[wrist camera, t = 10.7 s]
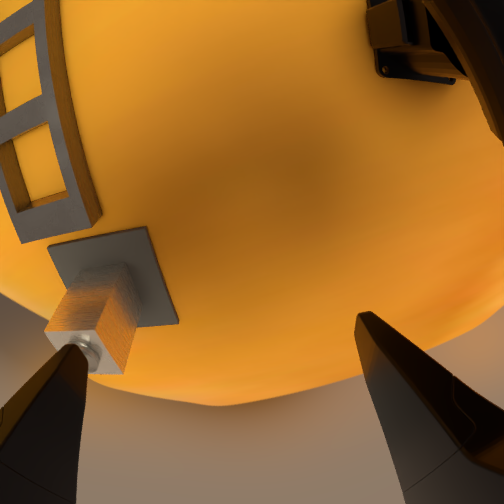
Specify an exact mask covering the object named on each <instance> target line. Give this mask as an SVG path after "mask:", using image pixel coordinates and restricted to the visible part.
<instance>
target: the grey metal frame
mask: <svg viewBox="0 0 504 504" xmlns="http://www.w3.org/2000/svg"><path fill="white" fill-rule="evenodd" d="M34 34H35V45H36V54H37V62H38V70H39V76H40V83H41V89H42V95H40V96H38V97H36V98H34V99H32V100H30V101H28V102H26V103H24V104H23V105H21V106H19V107H17V108H15V109H14V110H12V111H10V112H8V113H7V114H6V110H5V105H4V99H3V93H2V87H1V80H0V190H1V193H2V196H3V199H4V202H5V204H6V207H7V210H8V212H9V215H10V218H11V220H12V223H13V225H14V227H15V230H16V232H17V235H18V237H19V239H20V241H21V244H24V243H28V242H32V241H36V240H40V239H44V238H48V237H52V236H56V235H61V234H65V233H69V232H74V231H78V230H83V229H88V228H92V227H93V226H94V224H95V223H96V222H97V221H98V219H99V218H100V217H101V216H102V215H103V214H102V212H101V209H100V206H99V202H98V199H97V196H96V193H95V190H94V187H93V183H92V180H91V177H90V173H89V170H88V166H87V163H86V159H85V155H84V152H83V148H82V144H81V140H80V136H79V132H78V127H77V123H76V119H75V114H74V109H73V104H72V99H71V94H70V89H69V83H68V77H67V71H66V65H65V58H64V50H63V42H62V32H61V21H60V7H59V0H33V1H32V2H31V3H29V4H27V5H26V6H24V7H23V8H21V9H20V10H18V11H17V12H15V13H14V14H12V15H11V16H9V17H8V18H6V19H5V20H4V21H2V22H1V23H0V56H1V55H2V54H4V53H5V52H7V51H8V50H10V49H11V48H13V47H14V46H16V45H17V44H19V43H21V42H22V41H24V40H25V39H27V38H29V37H30V36H32V35H34ZM45 123H48V124H49V128H50V132H51V136H52V140H53V144H54V148H55V152H56V155H57V159H58V163H59V166H60V169H61V173H62V176H63V179H64V182H65V186H66V189H67V191H64V192H61V193H57V194H54V195H51V196H48V197H45V198H42V199H39V200H36V201H33V202H31V201H30V198H29V195H28V193H27V190H26V187H25V184H24V180H23V177H22V174H21V171H20V168H19V164H18V161H17V157H16V153H15V150H14V146H13V142H12V139H14V138H16V137H18V136H20V135H22V134H24V133H26V132H28V131H30V130H32V129H35V128H37V127H39V126H41V125H43V124H45Z"/></svg>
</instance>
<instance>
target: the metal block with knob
mask: <svg viewBox="0 0 504 504" xmlns="http://www.w3.org/2000/svg"><path fill="white" fill-rule="evenodd" d="M142 308H143V303H142V301H141V298H140V296H139V294H138V291H137V289H136V287H135V284H134V282H133V280H132V277H131V275H130V272H129V270H128V267H127V265H126V262H123V263H117V264H110V265H104V266H97V267H91V268H84V269H80V271H79V272H78V274H77V276H76V277H75V279H74V280H73V282H72V284H71V285H70V287H69V288H68V290H67V292H66V293H65V295H64V297H63V298H62V300H61V302H60V304H59V305H58V307H57V309H56V311H55V312H54V314H53V316H52V318H51V319H50V321H49V323H48V325H47V327H46V329H45V330H44V333H45V334H46V336H47V337H48V338H49V340H50V341H51V343H52V344H53V346H54V347H55V348H56V350H57V351H59V350H60V349H61V348H62V347H63V346H64V345H65V344H76V345H78V346H79V348H80V349H81V351H82V352H83V354H84V355H85V356H86V358H87V360H88V364H89V367H88V374H124V370H125V367H126V363H127V359H128V356H129V352H130V348H131V345H132V341H133V338H134V334H135V331H136V328H137V324H138V321H139V318H140V315H141V311H142Z"/></svg>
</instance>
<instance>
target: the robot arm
mask: <svg viewBox="0 0 504 504" xmlns="http://www.w3.org/2000/svg"><path fill="white" fill-rule="evenodd" d="M367 3H368V10H367V11H366V13H367V19H368V26H369V33H370V41H371V46H372V47H373V48H374V53H375V63H376V71H377V73H378V75H379V76H381V77H386V78H400V79H411V80H420V81H428V82H436V83H442V84H449V85H453V84H455V82H456V79H463V80H470V82H471V84H472V87H473V89H474V91H475V93H476V95H477V98H478V100H479V102H480V104H481V107H482V110H483V113H484V115H485V117H486V119H487V122H488V124H489V127H490V130H491V131H492V132H493V133H494V134H495V135H496V136H497V137H498V138H499V139H500V140H501V141H502V143H503V146H504V0H367ZM383 67H385V68H386V73H384V72H383V71H382V68H383ZM448 78H450V80H449V79H448ZM354 336H355V341H356V345H357V349H358V353H359V357H360V361H361V365H362V369H363V373H364V377H365V381H366V384H367V387H368V390H369V392H370V395H371V398H372V401H373V404H374V406H375V409H376V412H377V415H378V418H379V420H380V424H381V426H382V429H383V432H384V435H385V438H386V441H387V444H388V447H389V450H390V453H391V456H392V460H393V463H394V465H395V469H396V472H397V475H398V479H399V482H400V485H401V489H402V492H403V496H404V500H405V503H406V504H504V410H503V409H501V408H500V407H498V406H497V405H495V404H493V403H492V402H490V401H489V400H487V399H486V398H484V397H483V396H481V395H480V394H478V393H477V392H475V391H474V390H472V389H471V388H470V387H469V386H467V385H466V384H465V383H463V382H462V381H461V380H459V379H458V378H457V377H456V376H453V374H452V373H451V372H449V371H448V370H447V369H446V368H444V367H443V366H442V365H441V364H439V363H438V362H437V361H435V360H434V359H433V358H432V357H430V356H429V355H428V354H426V353H425V352H424V351H423V350H421V349H420V348H419V347H417V346H416V345H415V344H414V343H412V342H411V341H410V340H408V339H407V338H406V337H404V336H403V335H402V334H401V333H399V332H398V331H397V330H395V329H394V328H393V327H391V326H390V325H389V324H387V323H386V322H385V321H384V320H382V319H381V318H380V317H378V316H377V315H376V314H374V313H373V312H371V311H366V312H361V313H358V314H357V317H356V324H355V331H354ZM88 367H89V364H88V360H87V358H86V356H85V355H84V354H83V352H82V351H81V349H80V348H79V346H78V345H76V344H65V345H64V346H63V347H62V348H61V349H60V350H59V351H58V352H57V353H55V355H53V356H52V357H51V358H50V359H49V360H48V361H47V362H46V363H45V364H44V365H43V366H42V367H41V368H40V369H39V370H38V371H37V372H36V373H35V374H34V375H33V376H32V377H31V378H30V379H29V380H28V381H27V382H26V383H25V384H24V385H23V386H22V387H21V388H20V389H19V390H18V391H17V392H16V393H15V395H13V397H11V398H10V399H9V401H8V402H7V403H6V404H5V405H4V407H2V408H1V409H0V504H76V491H77V473H78V461H79V450H80V441H81V431H82V425H83V417H84V410H85V403H86V388H87V378H88Z"/></svg>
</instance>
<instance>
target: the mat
mask: <svg viewBox="0 0 504 504" xmlns="http://www.w3.org/2000/svg"><path fill="white" fill-rule="evenodd" d="M47 249H48V252H49V254H50V256H51V258H52V260H53V262H54V265H55V267H56V269H57V271H58V273H59V275H60V277H61V279H62V281H63V283H64V285H65V287H66V289H67V290H68V288H69V287H70V285H71V284H72V282H73V280H74V279H75V277H76V276H77V274H78V272H79V271H80V269H84V268H91V267H97V266H104V265H110V264H117V263H123V262H126V265H127V267H128V270H129V272H130V275H131V277H132V280H133V282H134V284H135V287H136V289H137V291H138V294H139V296H140V298H141V301H142V303H143V308H142V311H141V315H140V318H139V321H138V324H137V327H149V326H161V325H173V324H179V319H178V317H177V314H176V311H175V309H174V306H173V304H172V301H171V298H170V295H169V293H168V290H167V287H166V284H165V282H164V279H163V276H162V273H161V270H160V267H159V265H158V262H157V259H156V256H155V253H154V250H153V247H152V244H151V240H150V237H149V234H148V231H147V228H146V226H144V227H139V228H133V229H128V230H123V231H117V232H112V233H107V234H102V235H97V236H92V237H87V238H82V239H77V240H72V241H68V242H63V243H58V244H54V245H49V246H48V247H47Z"/></svg>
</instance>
